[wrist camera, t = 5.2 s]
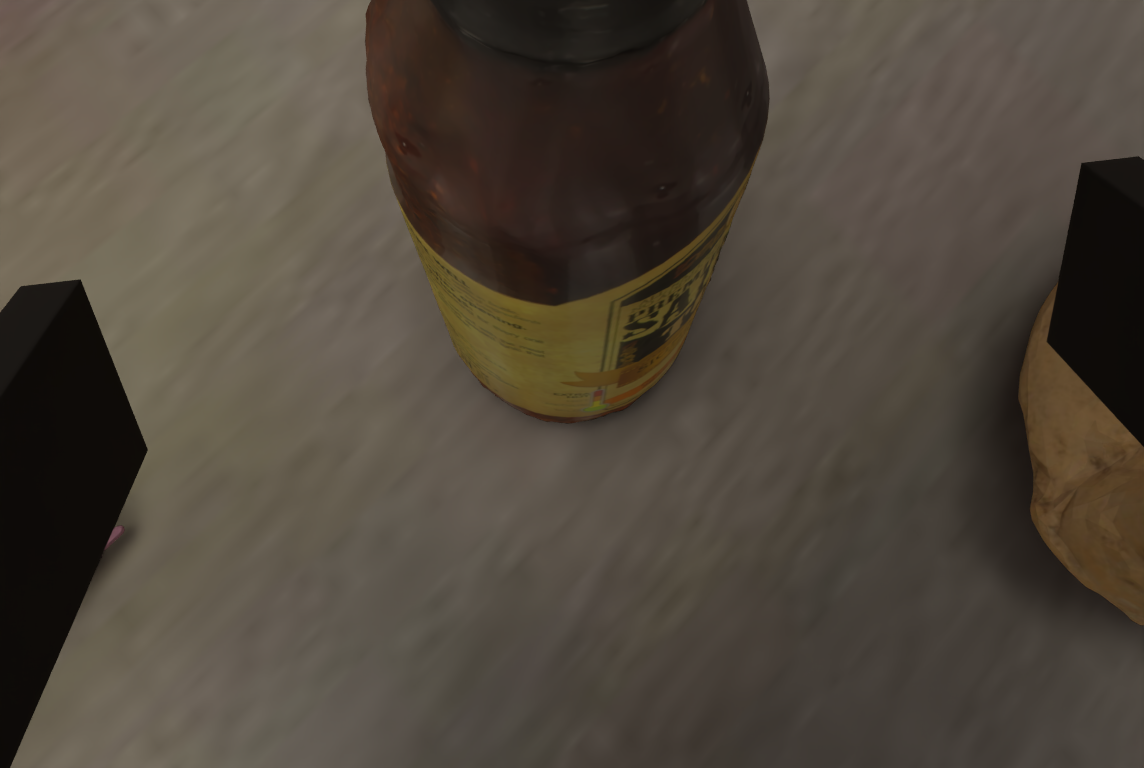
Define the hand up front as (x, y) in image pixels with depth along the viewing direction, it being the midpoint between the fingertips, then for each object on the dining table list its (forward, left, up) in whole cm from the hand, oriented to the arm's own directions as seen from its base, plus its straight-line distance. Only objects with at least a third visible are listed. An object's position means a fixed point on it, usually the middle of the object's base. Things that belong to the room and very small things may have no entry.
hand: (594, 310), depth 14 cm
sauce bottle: (-3, -2, -13) cm, 14 cm away
